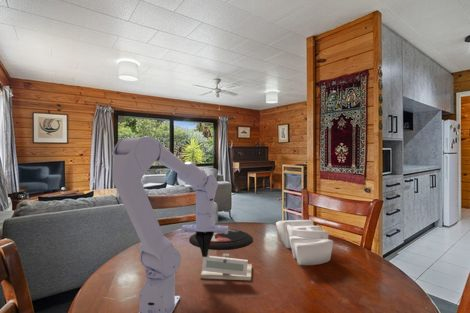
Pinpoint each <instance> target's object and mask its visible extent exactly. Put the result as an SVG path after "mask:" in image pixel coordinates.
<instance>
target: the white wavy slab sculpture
mask: <svg viewBox="0 0 470 313" xmlns="http://www.w3.org/2000/svg"><path fill="white" fill-rule="evenodd" d="M275 227H276V228H277V232H278V235H279V239H280V240H281V243H282V244H283V245H284V247H285V248H287V249H291V253H292V258H293V259H296V262H297V264H298V265H299V266H315V265H322V264H324V263H328V262H330V261H331V257H332V253H333V245H334V240H333V239H329V232H328V231H327V230H322V228H323V227H321V226H320V225H314V221H313V220H311V219H296V220H295V219H292V220H278V221H277V222H275Z"/></svg>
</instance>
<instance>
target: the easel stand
mask: <svg viewBox="0 0 470 313" xmlns="http://www.w3.org/2000/svg"><path fill="white" fill-rule="evenodd" d="M222 257H225V258H230V253H222ZM252 264H253V263H248V264H247V276H243V275H234V274H226V273H217V272H208V271H202V270H201V273H200V279H207V280H208V279H209V280H210V279H211V280H213V279H214V280H233V281H235V280H236V281H252V268H253V265H252Z"/></svg>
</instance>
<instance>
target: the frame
mask: <svg viewBox="0 0 470 313" xmlns="http://www.w3.org/2000/svg"><path fill="white" fill-rule="evenodd" d="M201 264H202V265H201V272H202V271H208V272H217V273H226V274H234V275H243V276H247V264H249V263H248V259H241V258H235V257H233V258H232V257H229V258H225V257H223V256H214V255H207V257H202V263H201Z"/></svg>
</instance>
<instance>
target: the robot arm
mask: <svg viewBox="0 0 470 313" xmlns="http://www.w3.org/2000/svg"><path fill="white" fill-rule="evenodd" d="M111 155H112V158H113V168H112V169H113V170H112V171H113V172H112V182H113V185H114V187H115V189H116V191H117V193H118V195H119V197H120V200H121V202H122V204H123V206H124V208H125V209H124V210H126V213H127V215H128V217H129V219H130V221H131V223H132V226H133V228H134V230H135V232H136V234H137V237H138V239H139V241H140V243H139V245H138V247H137V248H138V250H139V261H140V263H141V265H142V266H143V267H144V272H145V280H144V284H143V285H142V286H141V289H140V291H139V294H138V296H139V297H138V298H139V299H138V300H139V306H138V307H139V308H138V309H139V312H138V313H174V312H173V311H174V310H175V308H176V307H177V305H178V303H179V300H180V299H181V296H180V295H176V289H175V288H176V276H175V274H176V273H177V271H178V269H180V268H179V267H180V266H181V262H182V256H181V252H180V251H179V250H178V249H177V248H176V247H174V244H173V243H172V241H170V240H169V239H168V237H166V236H165V235H164V234H163V233H164V232H163V230H162V228H161V225H160V223H159V221H158V219H157V216H156V214H155V212H154V209H153V207H152V204H151V202H150V199H149V197H148V194H147V191H146V190H145V187H144V185H143V182H142V179H143V176H145V174H146V173H147V171H148V170H150V168H151V167H152V166H153V165H154V164H155V163H156V162H157V163H158V164H160V165H162V166H164V167H166V168H168V169H169V170H171V171H173V172H175V173H177V177H178V179H179V180H180V181H182V182H184V183H185V184H187V185H189V186H190V187H191V188H192V191H193V192H195V224H194V223H193V224H183V225H182V226H181V233H182V234H185V233H196V235H195V238H196V240H197V241H198V243H199V246H200V247H199V248H200V251H201V257H202V258H203V257H207V256H209V255H208V254H209V250H210V249H209V245H210V242H211V239H212V237H213V235H214V233H224V234H228V228H229V225H223V224H222V225H221V224H215V198H216V194H217V190H218V187H219V183H218V180H217V178H216V176H214V175H213V174H207V173H206V170H204V169H201V168H199V167H198V166H197V163H195V162H194V161H186V162H184V161H183V160H181V159H180V158H179V157H177V156H176V154H174V153H172V152H171V151H170V150H169V149H167V148H166V147H165V146H164V144H163V143H162V142H161V141H159V140H157V139H155V138H154V137H153V136H150V135H149V136H148V135H144V136H140V137H124V138H120V139H119V141H117V143H116V144H115V146H114V148H113V150H112V151H111Z"/></svg>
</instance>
